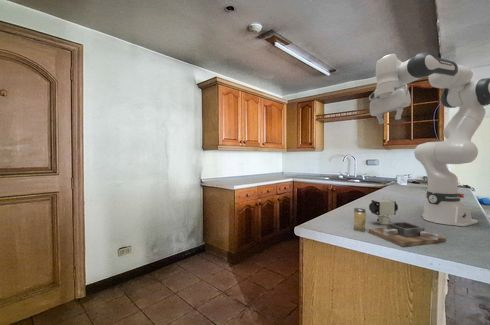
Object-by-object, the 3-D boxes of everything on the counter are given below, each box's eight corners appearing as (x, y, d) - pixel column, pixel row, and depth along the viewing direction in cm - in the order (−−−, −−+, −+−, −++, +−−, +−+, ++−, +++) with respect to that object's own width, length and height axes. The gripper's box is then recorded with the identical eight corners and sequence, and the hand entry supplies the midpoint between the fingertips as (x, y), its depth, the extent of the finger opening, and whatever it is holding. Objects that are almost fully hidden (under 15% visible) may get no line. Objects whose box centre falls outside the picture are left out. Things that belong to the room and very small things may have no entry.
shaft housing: (406, 228, 101) (406, 218, 101) (449, 242, 85) (449, 230, 85) (368, 232, 97) (368, 221, 97) (405, 248, 80) (406, 235, 80)
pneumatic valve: (398, 224, 107) (398, 198, 107) (375, 225, 106) (375, 199, 105) (389, 221, 113) (389, 196, 112) (367, 222, 111) (367, 197, 111)
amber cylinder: (360, 227, 103) (360, 207, 103) (367, 230, 99) (368, 210, 98) (351, 228, 102) (351, 208, 102) (358, 231, 98) (359, 210, 97)
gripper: (414, 82, 94) (416, 116, 94) (378, 98, 114) (379, 125, 114) (400, 82, 93) (402, 116, 93) (366, 97, 113) (368, 125, 113)
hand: (389, 121), depth 104 cm, fingers open, 8 cm apart
